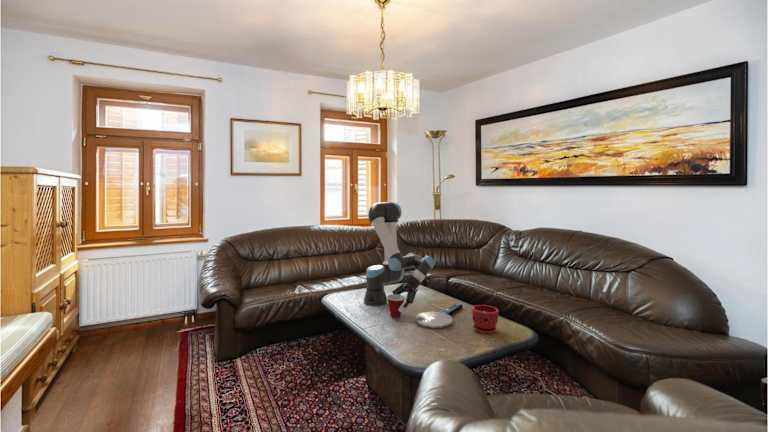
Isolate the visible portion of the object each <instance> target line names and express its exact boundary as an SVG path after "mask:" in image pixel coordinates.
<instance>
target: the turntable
mask: <svg viewBox="0 0 768 432" xmlns="http://www.w3.org/2000/svg"><path fill="white" fill-rule="evenodd" d="M415 323H416V324H417V325H419V326H422V327H425V328H429V329H430V328H431V329H441V328H442V329H443V328H447V327H450V326H451V325H452V324H453V317H452V316H451V315H450V314H447V313H444V312H439V311H425V312H421V313H418V314H417V315H416V316H415Z"/></svg>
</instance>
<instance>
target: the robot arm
mask: <svg viewBox="0 0 768 432" xmlns="http://www.w3.org/2000/svg"><path fill="white" fill-rule="evenodd" d="M367 214H368V221H369V224H370V225H371V226H372V227H373V228H374V230H375V232H376V234H377V236H378V238H379V240H380V242H381V245H382V246H383V248H384V249H383V250H384V251H383V252H384V253H383V254H384V260H383V262H382V265H381V264H377V265H375V264H374V265H370V266H369V267H367V268H366V271H365V278H366V279H365V284H366V285H365V286H366V287H365V289H366V291H365V294H364V297H363V303H364V304H365V305H368V306H381V305H385V304H387V305H388V306H389V303H388V299H387V294H386V291H385V285H389V284H393V283H394V284H395V283H398V282H400V281H401V280H402V279H403V278H404V275H405V270H406V269H411V268H413V269H414V270H413V272H412V273H411V274H410V276H409V277H408V278H407V280H406V281H407V282H405V281H403V282H402V283H401V284H400V285H398V287H397V288H395V289H394V290H393V291H392V292H391V294H398V295H402V294H403V293H406V298H405V300H404V302H403V304H402V305H401V306H400V308H399V309H398V310H399V311H400V312H401V314H402V313H403V312H404V310H405V309H406V308H407V307H408V306H409V304H413V303H414V299H415V298H416V295H417V292H419V289H418V288H419V286H420V285H421V283H422V282H423V280H425V278H426V277H427V275H428V274H429V273H430V272H431V271H432V269H434V266H435V265H436V261H435V259H434V258H432V257H431V256H429V255H425V256H424V257H421V256H420V255H417V254H415V253H413V252H409V253H407V254H406V255H405V256H402V255H403V254H402V253H401V252H400V249H399V248H398V242H397V241H398V239H397V238H398V237H397V224H398V223H399V219H400V218H401V217H402V208H401V206H400V204H398V203H397V202H395V201H393V202H392V201H386V202H385V201H384V202H375V203H373V204H372V205H371V206H370V207H369V210H368V213H367Z"/></svg>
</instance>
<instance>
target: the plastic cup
mask: <svg viewBox="0 0 768 432" xmlns="http://www.w3.org/2000/svg"><path fill="white" fill-rule="evenodd" d="M386 297H387V302H388V303H389V305H388V308H389V315H390V318H392V319H400V318H401V317H402V313H401V312H400V311H399V310H398V309H399V308H400V306H401V305H402V304H403V303H404V301H406V296H404V295H402V294H400V295H398V294H393V293H391V294H386Z"/></svg>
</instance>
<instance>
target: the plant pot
mask: <svg viewBox="0 0 768 432" xmlns="http://www.w3.org/2000/svg"><path fill="white" fill-rule="evenodd" d="M471 310H472V312H471V313H472V314H471V315H472V321H473V325H472V329H474V330H473V331H475V332H477V333H479V334H484V335H489V334H491V335H492V334H493V333H495V332H496V330H497V327H496V326H497V323H498V321H499V314H500V313H499V309H498V308H497V307H495V306H491V305H486V304H478V305H474V306H473V307H472V309H471Z"/></svg>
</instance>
